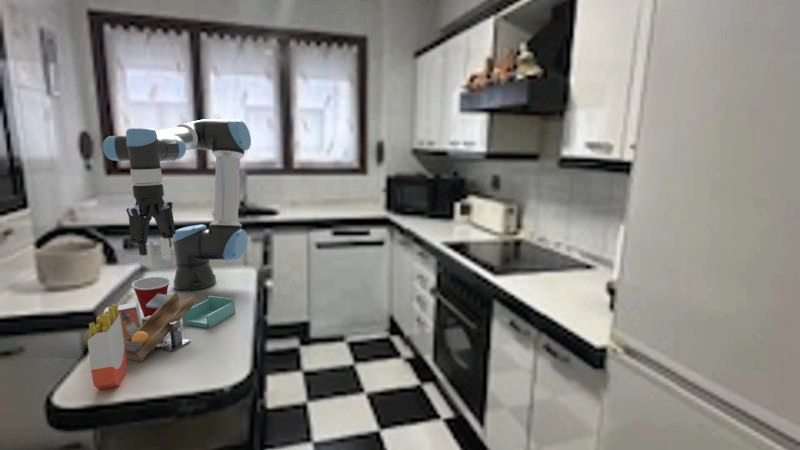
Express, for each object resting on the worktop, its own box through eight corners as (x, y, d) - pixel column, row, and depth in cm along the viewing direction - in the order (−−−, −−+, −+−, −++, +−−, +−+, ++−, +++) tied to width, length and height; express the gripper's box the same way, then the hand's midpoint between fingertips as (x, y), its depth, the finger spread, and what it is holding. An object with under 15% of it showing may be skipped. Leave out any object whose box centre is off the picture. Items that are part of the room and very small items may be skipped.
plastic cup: (157, 324, 135) (153, 288, 132) (128, 322, 137) (122, 285, 135) (181, 311, 145) (177, 276, 143) (153, 308, 147) (149, 275, 145)
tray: (210, 309, 146) (209, 295, 145) (235, 313, 143) (234, 298, 142) (182, 324, 135) (181, 308, 134) (209, 328, 132) (207, 312, 131)
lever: (159, 296, 134) (154, 287, 132) (198, 302, 129) (193, 292, 127) (101, 353, 117) (93, 343, 115) (143, 362, 112) (136, 351, 110)
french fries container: (93, 396, 98) (81, 321, 94) (107, 372, 108) (96, 303, 104) (116, 392, 99) (105, 318, 96) (128, 368, 109) (118, 301, 106)
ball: (142, 339, 118) (138, 327, 117) (154, 341, 117) (150, 329, 116) (130, 348, 115) (125, 336, 113) (142, 350, 114) (137, 338, 112)
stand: (154, 335, 127) (151, 312, 126) (190, 342, 123) (187, 318, 122) (136, 345, 122) (133, 321, 120) (173, 351, 118) (170, 327, 116)
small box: (109, 349, 119) (101, 313, 117) (112, 342, 124) (104, 307, 122) (143, 342, 122) (136, 306, 120) (144, 335, 127) (137, 300, 125)
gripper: (164, 180, 134) (173, 253, 138) (106, 187, 116) (118, 270, 120) (184, 180, 131) (192, 254, 136) (127, 188, 114) (138, 273, 118)
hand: (157, 262), depth 128 cm, fingers open, 6 cm apart
